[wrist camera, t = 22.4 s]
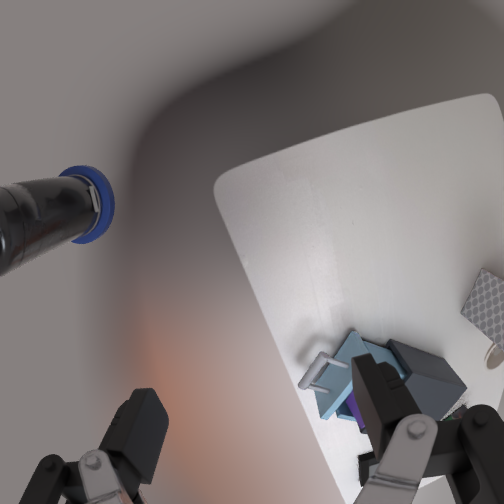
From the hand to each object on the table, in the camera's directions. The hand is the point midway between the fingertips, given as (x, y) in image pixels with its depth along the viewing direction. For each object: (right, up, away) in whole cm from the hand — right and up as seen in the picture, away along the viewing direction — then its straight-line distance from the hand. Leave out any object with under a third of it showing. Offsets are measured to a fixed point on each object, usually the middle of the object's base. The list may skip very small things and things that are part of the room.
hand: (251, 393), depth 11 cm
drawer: (+16, -12, +32) cm, 37 cm away
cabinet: (+26, -16, +33) cm, 45 cm away
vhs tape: (+29, -45, +42) cm, 67 cm away
